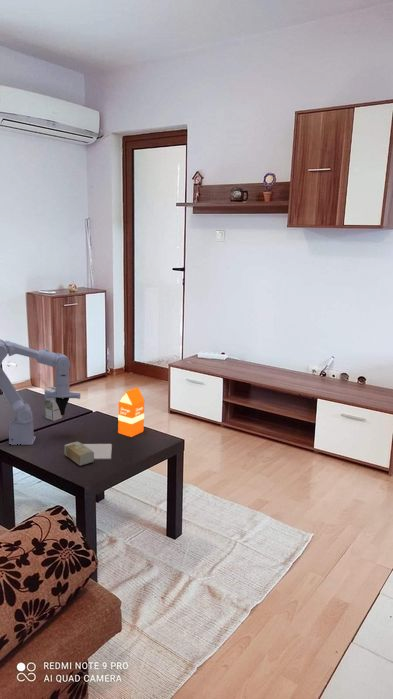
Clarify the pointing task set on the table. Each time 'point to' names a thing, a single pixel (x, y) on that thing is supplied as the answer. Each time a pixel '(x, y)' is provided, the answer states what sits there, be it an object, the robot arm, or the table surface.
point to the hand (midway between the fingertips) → (62, 414)
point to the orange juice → (131, 413)
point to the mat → (100, 450)
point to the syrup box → (51, 406)
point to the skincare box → (79, 453)
